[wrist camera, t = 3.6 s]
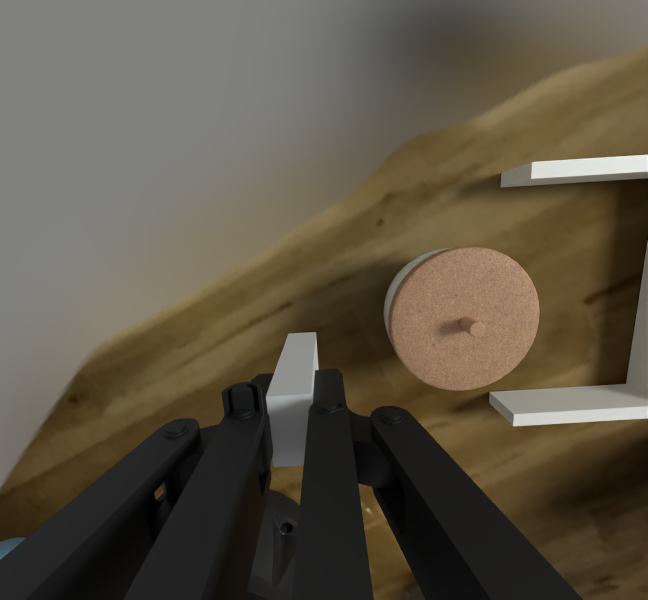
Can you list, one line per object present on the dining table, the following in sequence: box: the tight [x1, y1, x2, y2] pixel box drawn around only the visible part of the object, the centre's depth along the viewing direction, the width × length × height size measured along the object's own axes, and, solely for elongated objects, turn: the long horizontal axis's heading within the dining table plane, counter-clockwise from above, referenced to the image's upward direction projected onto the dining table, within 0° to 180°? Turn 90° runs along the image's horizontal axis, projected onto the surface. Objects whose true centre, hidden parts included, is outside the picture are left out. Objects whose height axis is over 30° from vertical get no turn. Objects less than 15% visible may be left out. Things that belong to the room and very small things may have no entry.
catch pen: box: [489, 155, 648, 426], centre depth 27 cm, size 15×22×4 cm
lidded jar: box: [384, 246, 540, 391], centre depth 24 cm, size 11×11×9 cm
